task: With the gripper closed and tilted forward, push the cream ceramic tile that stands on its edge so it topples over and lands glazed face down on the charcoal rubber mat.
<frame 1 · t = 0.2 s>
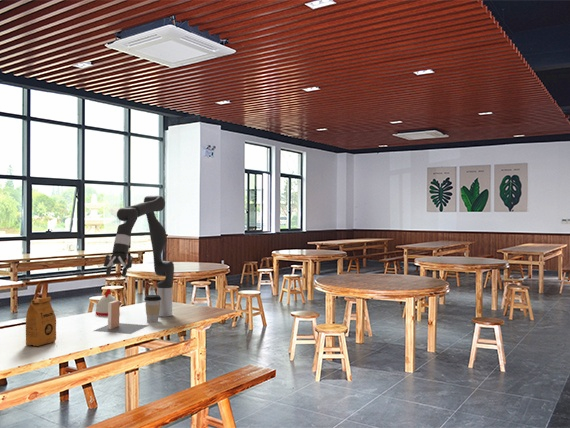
hand: (115, 275, 255), 31 cm above the table, tool tilted 20°, fingers open, 8 cm apart
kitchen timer: (107, 313, 314), on the table
coffee cup: (152, 322, 293), on the table
tile: (113, 327, 276), resting on mat
mat: (121, 328, 275), on the table
coffee package: (41, 344, 243), on the table
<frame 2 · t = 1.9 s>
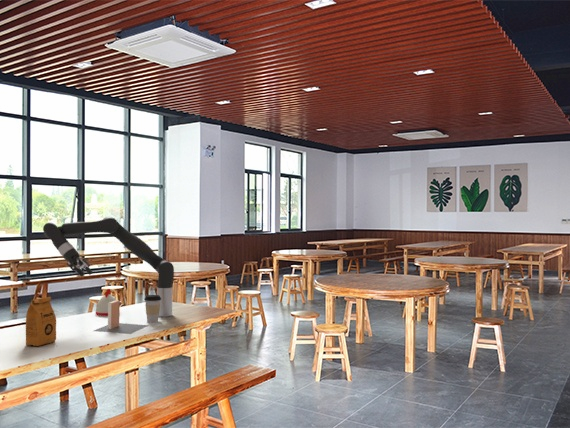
hand: (87, 274, 279), 29 cm above the table, tool tilted 45°, fingers open, 7 cm apart
nothing on the table moved.
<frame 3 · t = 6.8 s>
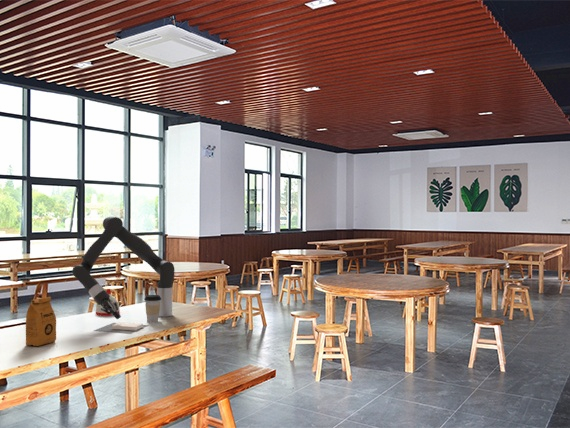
hand: (119, 318, 275), 6 cm above the table, tool tilted 45°, fingers closed
tile: (115, 325, 276), point 2 cm above the table, tilted 90°, touching mat
everything else where it was.
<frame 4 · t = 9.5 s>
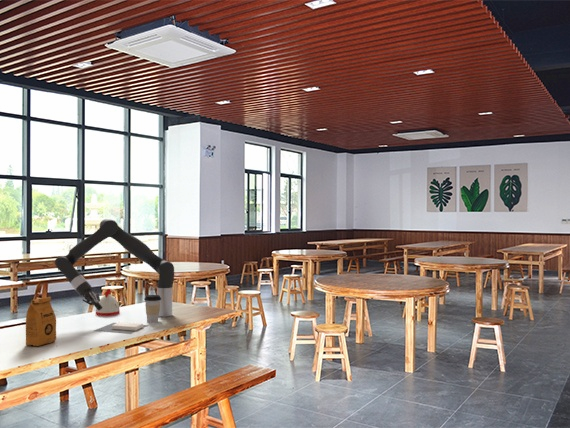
hand: (100, 309, 277), 10 cm above the table, tool tilted 45°, fingers closed
nothing on the table moved.
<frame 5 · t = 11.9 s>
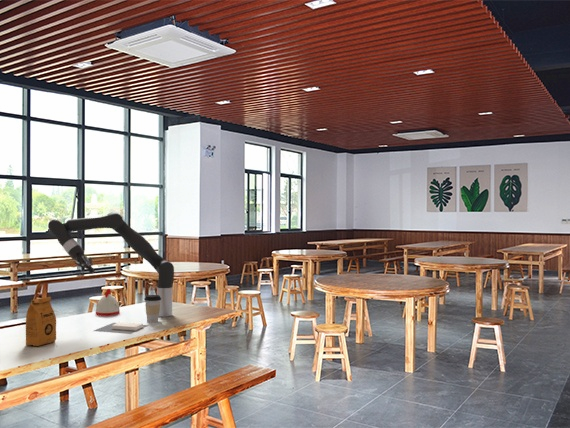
hand: (93, 272, 278), 30 cm above the table, tool tilted 45°, fingers closed
nothing on the table moved.
at the end: tile tilted 90°; tile inside the target area on the mat (0.9 cm from its centre), point 1.7 cm above the mat's base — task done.
